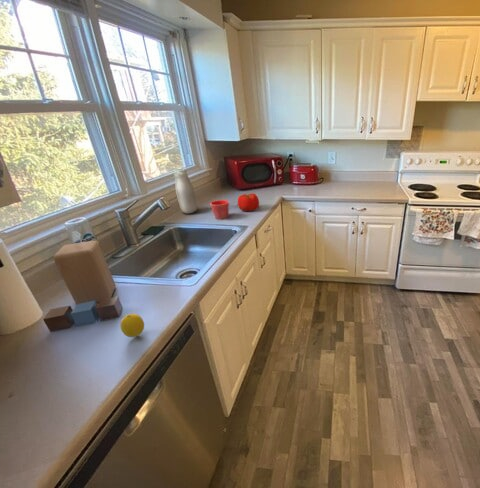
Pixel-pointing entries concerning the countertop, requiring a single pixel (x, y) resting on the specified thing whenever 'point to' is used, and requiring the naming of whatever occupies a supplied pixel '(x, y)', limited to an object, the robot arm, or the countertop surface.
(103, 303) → the block right
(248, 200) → the tomato
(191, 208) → the glass bottle
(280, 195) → the countertop surface
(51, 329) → the block left
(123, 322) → the lemon
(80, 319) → the blue block
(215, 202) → the flower pot
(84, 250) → the block
